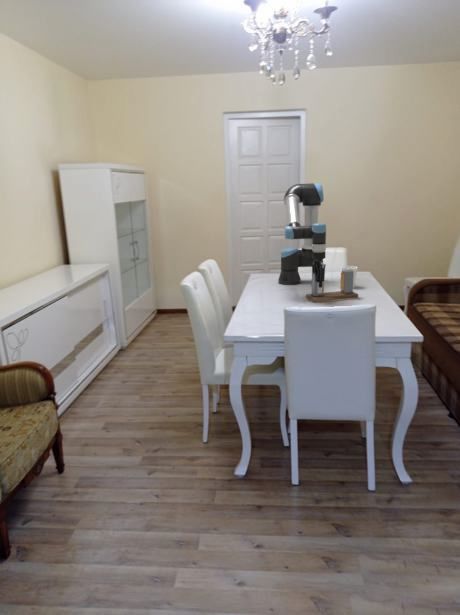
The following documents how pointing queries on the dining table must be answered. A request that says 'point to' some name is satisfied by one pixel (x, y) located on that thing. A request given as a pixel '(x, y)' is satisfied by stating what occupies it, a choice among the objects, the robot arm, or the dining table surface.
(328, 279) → the dining table surface
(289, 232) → the robot arm
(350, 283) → the mounted finger
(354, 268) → the foam cup
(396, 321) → the dining table surface
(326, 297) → the rail
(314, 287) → the gray and orange block
